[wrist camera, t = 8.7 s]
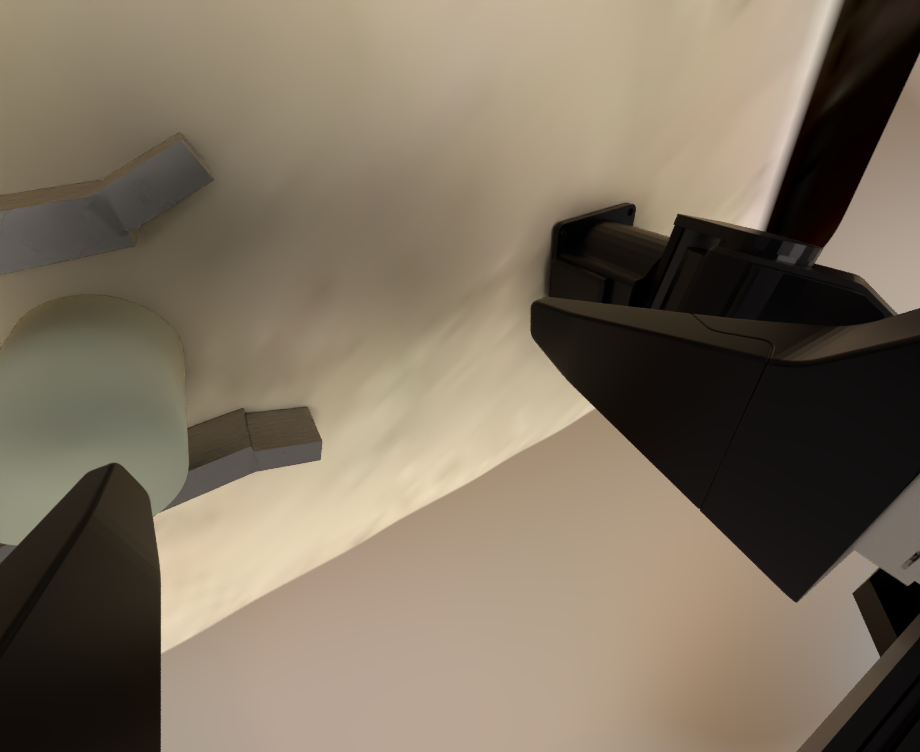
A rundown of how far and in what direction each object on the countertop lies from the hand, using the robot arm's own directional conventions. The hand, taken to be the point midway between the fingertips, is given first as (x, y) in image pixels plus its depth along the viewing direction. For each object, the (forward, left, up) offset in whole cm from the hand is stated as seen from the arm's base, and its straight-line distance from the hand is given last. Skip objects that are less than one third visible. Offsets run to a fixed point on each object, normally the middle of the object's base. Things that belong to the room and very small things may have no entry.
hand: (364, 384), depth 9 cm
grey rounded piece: (+7, +3, -12) cm, 14 cm away
